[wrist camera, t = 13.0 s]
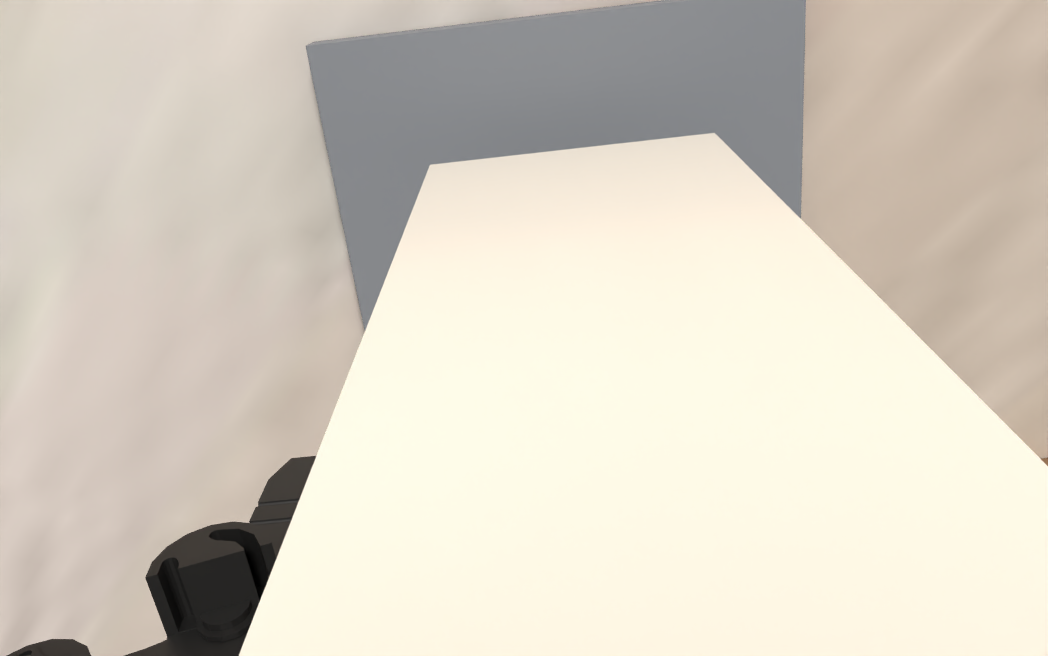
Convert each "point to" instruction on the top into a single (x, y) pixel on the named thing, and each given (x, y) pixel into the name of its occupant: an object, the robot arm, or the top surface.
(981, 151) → the top surface
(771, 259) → the cream block
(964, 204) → the top surface
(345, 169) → the slate mat
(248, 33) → the top surface
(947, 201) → the top surface
